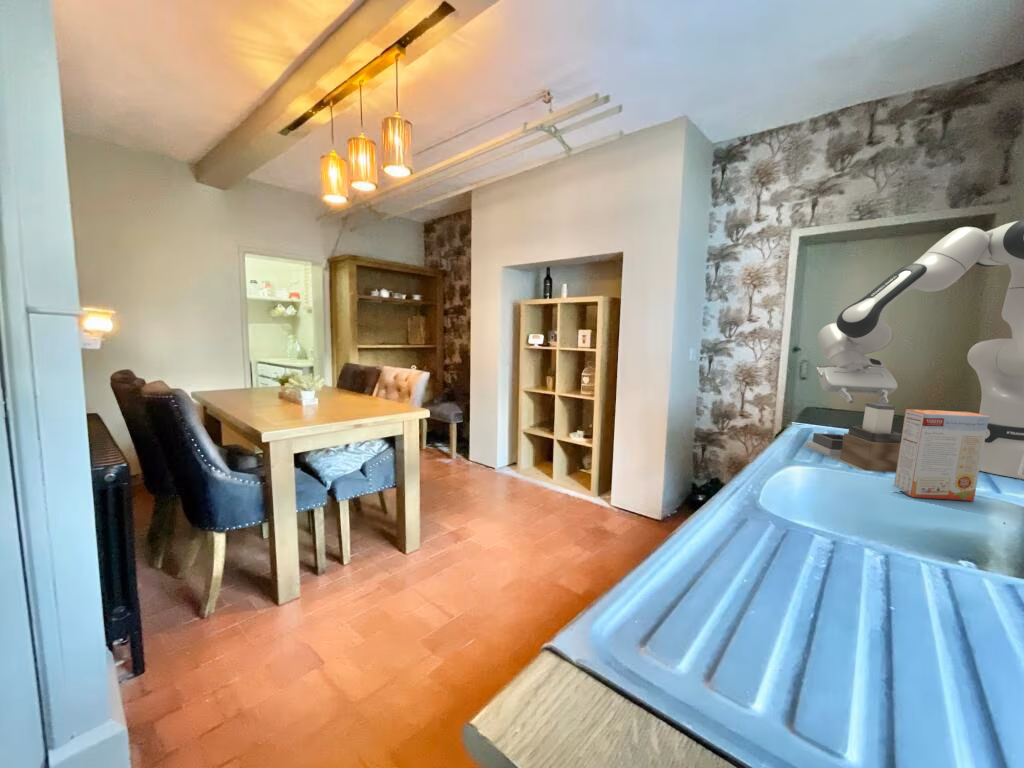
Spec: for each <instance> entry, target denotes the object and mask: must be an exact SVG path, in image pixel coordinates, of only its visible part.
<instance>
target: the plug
mask: <svg viewBox="0 0 1024 768" xmlns="http://www.w3.org/2000/svg"><path fill="white" fill-rule="evenodd" d="M895 408H896V407H895V405H891V404H880V403H879V402H878V403H877V402H865V408H864V415H863V421H862V426H861V427H862V429H864V430H867V431H870V432H873V433H891V431H892V427H893V422H894V421H893V420H894V416H895Z"/></svg>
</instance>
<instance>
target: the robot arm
mask: <svg viewBox="0 0 1024 768" xmlns="http://www.w3.org/2000/svg"><path fill="white" fill-rule="evenodd" d="M973 265H976V266H981V267H996V266H997V267H998V266H1003V265H1007V266H1008V267H1009V269H1010V273H1011V274H1010V275H1011V276H1010V281H1009V284H1008V287H1007V291H1006V293H1005V298H1004V302H1003V305H1002V309H1001V314H1000V315H1001V318H1002V320H1003V321H1005V322H1006V323H1007V324H1008V325H1009V327H1010V330H1011V337H1012V338H994V339H988V340H982V341H980V342H977V343H975V344H974V345H973V346H971V347H970V348H969V351H968V352H967V356H966V358H967V363H968V364H969V366H970V367H971V368H972V369H973V370H974V371H975V373H976V375H977V377H978V381H979V384H980V389H981V399H980V400H981V401H980V405H979V412H978V414H980V415H985V416H989V420H988V425H987V431H986V436H985V442H984V447H983V453H982V458H981V464H980V469H979V472H983V473H984V472H985V473H989V474H992V475H993V474H994V475H998V476H1005V477H1010V478H1013V479H1015V478H1016V479H1018V480H1024V218H1023V219H1021V220H1020V219H1019V220H1015V221H1012V222H1008V223H1005V224H1004V223H1003V225H999V226H997V227H995V228H992V229H990V230H987V231H985V230H983V229H981V228H979V227H976V226H975V227H973V226H963V227H958V228H956V229H954V230H952V231H951V232H950V233H948V234H946V235H945V236H944V237H942V238H941V239H939V240H938V241H937V242H936V243H935V244H934V245H932V246H931V247H930V248H929V249H927V250H926V251H925V253H923V254H922V255H921V256H920V257H919V258H917V260H916V261H914V262H913V263H909V264H906V265H904V266H902V267H900V268H899V269H897V270H896V271H895V272H893V273H892V274H890V276H888V277H887V278H885V280H883V281H882V282H880V284H878V285H877V286H876V287H875V288H873V289H872V290H871V291H870V292H868V293H867V294H865V296H863V297H862V298H861V299H858V300H857V301H856V302H854V303H852V304H850V305H848V306H847V307H845V308H844V309H843V310H842V311H840V313H839V315H838V316H837V318H836V322H833V323H829V324H827V325H825V326H824V327H822V328H821V329H820V331H819V332H818V334H817V343H818V346H819V348H820V351H821V353H822V355H823V356H824V358H825V359H826V360H827V365H824V364H823V365H822V364H821V365H819V366H816V368H815V370H816V373H817V375H818V380H819V384H820V387H821V389H822V390H823V391H825V392H828V393H829V392H831V393H837V395H838V396H840V397H841V398H842V399H844V400H845V403H846V404H853V403H854V402H855V401H856V398H855V397H854V395H850V394H851V393H852V394H868V395H871V394H872V395H877V396H878V397H879V398H878V399H877V402H878V403H880V404H886V405H888V403H889V399H888V395H892V393H893V392H895V391H896V390H897V389H898V386H899V385H898V383H897V381H896V379H895V378H894V376H893V374H891V372H890V371H889V370H888V369H887V368H885V366H886V364H885V363H884V361H882V360H880V359H875V358H872V357H869V356H866V355H868V354H871V353H874V352H878V351H879V350H880V351H881V350H882V349H884V348H886V347H887V346H888V345H890V343H891V342H892V340H893V338H894V331H893V330H892V329H891V327H890V326H889V324H888V323H887V322H886V321H885V319H884V318H883V317H882V315H883V311H884V310H885V309H886V308H887V307H889V306H890V305H892V303H893V302H895V301H896V300H898V299H899V298H900V297H901V296H902V295H904V294H905V293H907V292H908V291H910V290H914V289H915V290H917V291H922V292H926V293H927V292H929V293H930V292H938V291H942V290H945V289H947V288H948V287H950V286H952V285H953V284H955V283H956V282H957V281H958V280H959V279H961V277H963V276H964V274H966V272H968V270H970V269H971V268H972V267H973Z"/></svg>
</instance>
